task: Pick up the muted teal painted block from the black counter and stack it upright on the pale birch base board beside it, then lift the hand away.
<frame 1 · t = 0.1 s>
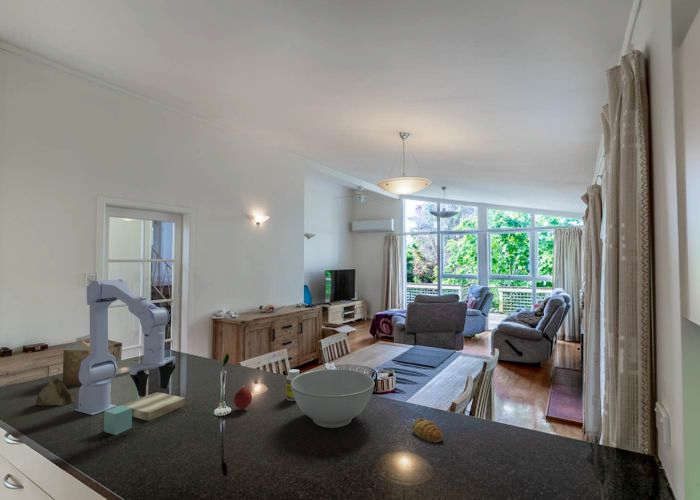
hand: (153, 391, 113), 10 cm above the worktop, tool pointing down, fingers open, 7 cm apart
tan tall block: (84, 381, 155), on the worktop
rock: (54, 404, 129), on the worktop
supplement bottle: (293, 399, 135), on the worktop
pastry: (427, 436, 107), on the worktop
teal block: (118, 429, 110), on the worktop
onion: (242, 410, 125), on the worktop
birch base board: (153, 409, 125), on the worktop
decorative bowl: (332, 420, 118), on the worktop
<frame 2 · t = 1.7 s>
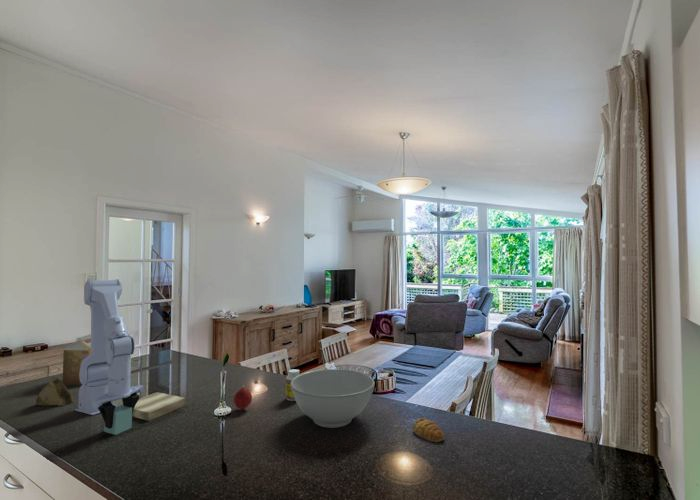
hand: (118, 423, 110), 2 cm above the worktop, tool pointing down, fingers closed on teal block, 5 cm apart
teal block: (118, 429, 110), on the worktop, touching gripper
everything else where it was.
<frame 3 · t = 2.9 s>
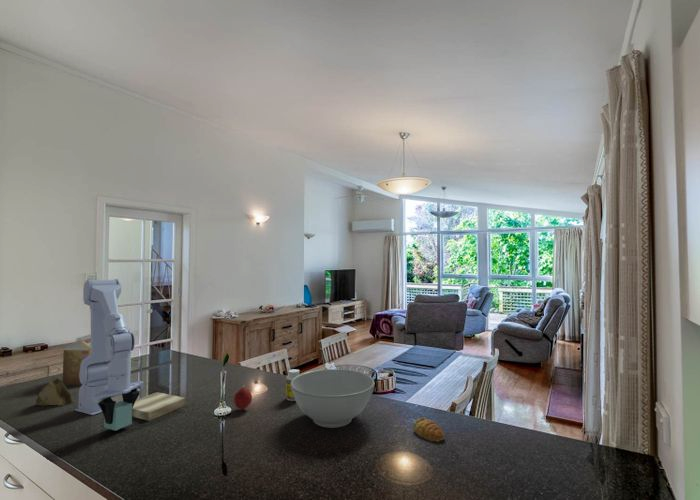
hand: (118, 419, 110), 3 cm above the worktop, tool pointing down, fingers closed on teal block, 5 cm apart
teal block: (118, 425, 110), point 1 cm above the worktop, touching gripper
everything else where it was.
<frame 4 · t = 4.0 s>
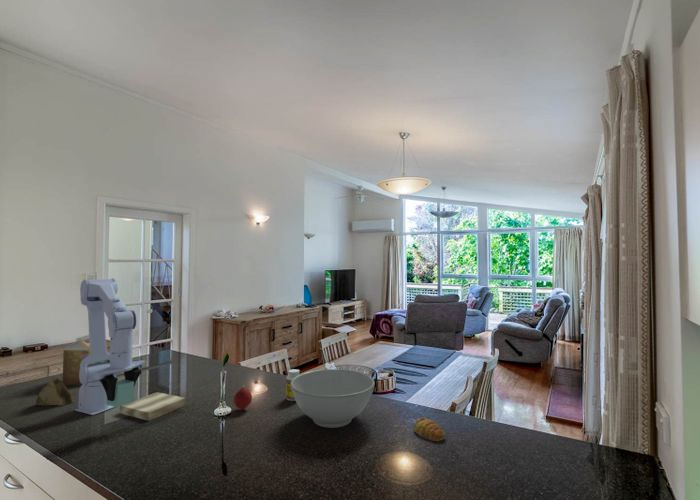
hand: (120, 397, 111), 9 cm above the worktop, tool pointing down, fingers closed on teal block, 5 cm apart
teal block: (120, 403, 110), point 8 cm above the worktop, touching gripper
everything else where it was.
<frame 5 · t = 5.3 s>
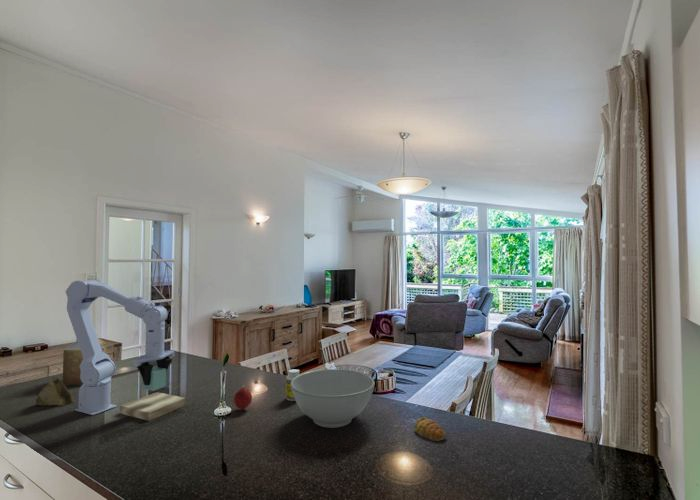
hand: (154, 382, 125), 9 cm above the worktop, tool pointing down, fingers closed on teal block, 5 cm apart
teal block: (154, 387, 125), point 7 cm above the worktop, touching gripper
when the fingers open (6 cm above the worktop, at t = 6.3 s): teal block drops 1 cm, resting on birch base board.
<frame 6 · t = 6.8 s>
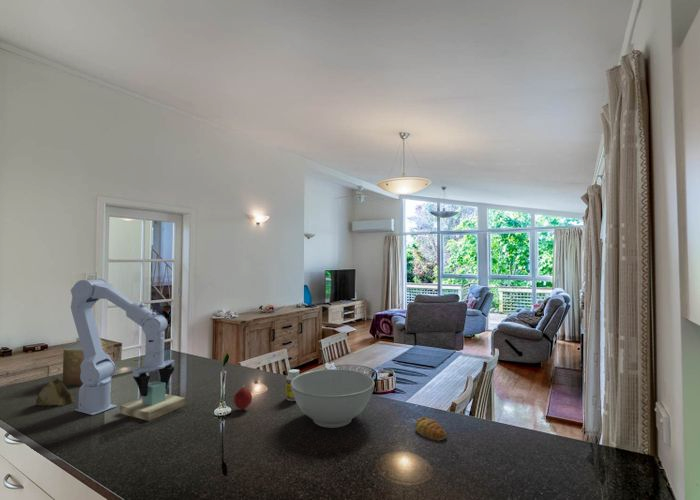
hand: (153, 392, 125), 6 cm above the worktop, tool pointing down, fingers open, 7 cm apart
teal block: (153, 401, 125), point 2 cm above the worktop, touching birch base board
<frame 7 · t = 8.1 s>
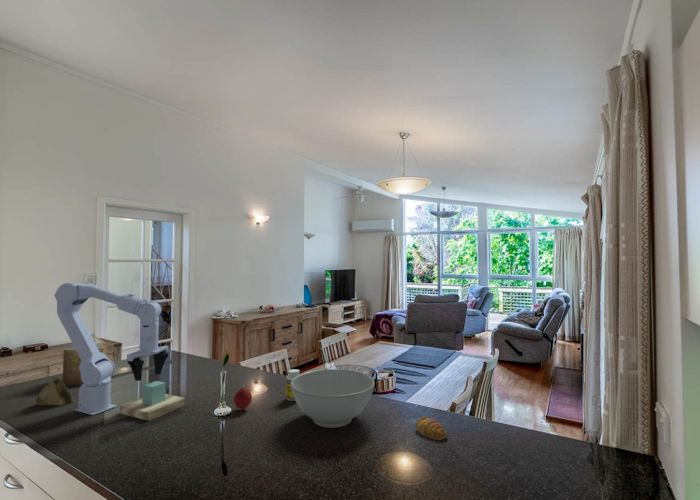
hand: (148, 377, 127), 10 cm above the worktop, tool pointing down, fingers open, 7 cm apart
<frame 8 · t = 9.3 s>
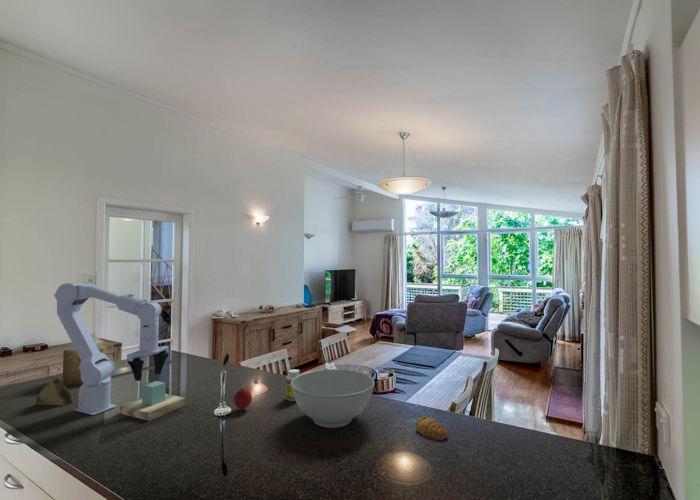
hand: (148, 377, 127), 10 cm above the worktop, tool pointing down, fingers open, 7 cm apart
at the end: teal block inside the target area on the birch base board (0.1 cm from its centre), point 2.5 cm above the birch base board's base; teal block tilted 0°; the gripper is holding nothing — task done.
